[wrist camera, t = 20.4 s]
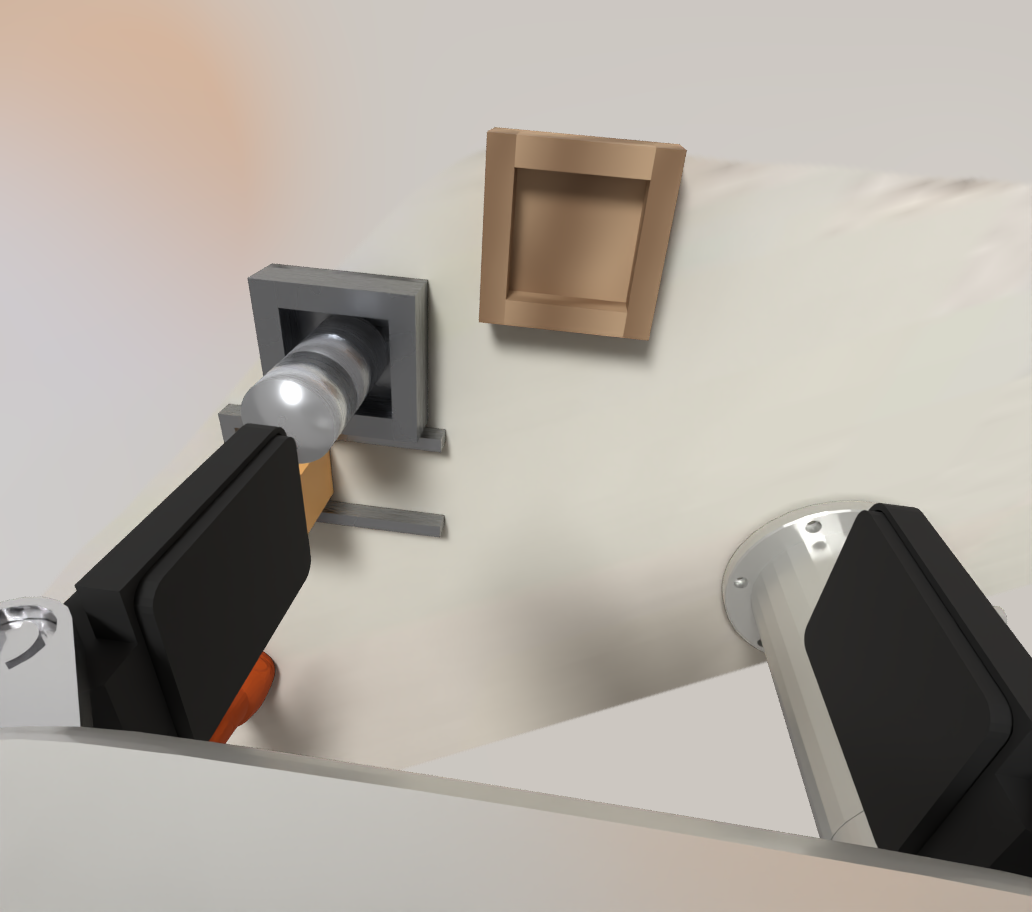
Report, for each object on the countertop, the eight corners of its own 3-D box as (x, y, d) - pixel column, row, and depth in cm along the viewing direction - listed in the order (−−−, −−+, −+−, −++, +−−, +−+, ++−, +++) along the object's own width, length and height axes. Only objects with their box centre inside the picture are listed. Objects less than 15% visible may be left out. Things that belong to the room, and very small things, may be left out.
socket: (427, 279, 31) (414, 295, 28) (428, 419, 35) (417, 443, 33) (272, 263, 31) (247, 278, 29) (291, 403, 35) (271, 425, 33)
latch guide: (445, 429, 35) (440, 440, 34) (443, 525, 39) (440, 537, 38) (228, 404, 36) (218, 413, 35) (247, 500, 40) (238, 511, 39)
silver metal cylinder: (386, 318, 31) (330, 385, 25) (389, 388, 33) (338, 468, 27) (310, 309, 32) (233, 374, 25) (317, 380, 34) (248, 457, 27)
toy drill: (323, 563, 42) (207, 775, 29) (261, 709, 52) (154, 916, 39) (255, 534, 41) (105, 740, 28) (205, 687, 51) (77, 891, 38)
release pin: (327, 437, 36) (276, 508, 30) (333, 492, 38) (286, 568, 33) (261, 429, 37) (198, 498, 31) (271, 484, 39) (213, 559, 33)
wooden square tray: (679, 144, 26) (686, 150, 24) (644, 322, 31) (648, 340, 29) (495, 127, 27) (487, 131, 25) (486, 305, 31) (478, 322, 29)
